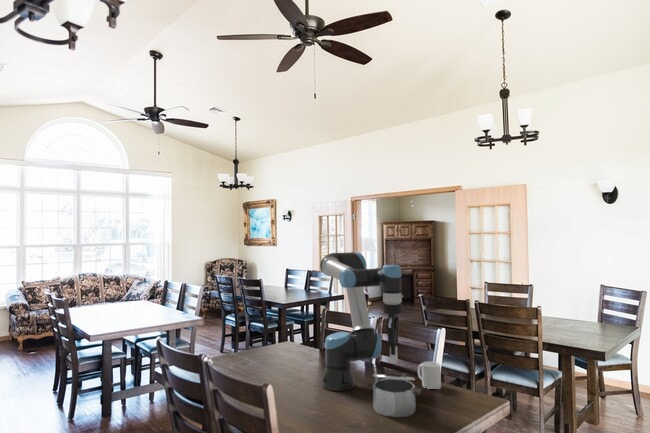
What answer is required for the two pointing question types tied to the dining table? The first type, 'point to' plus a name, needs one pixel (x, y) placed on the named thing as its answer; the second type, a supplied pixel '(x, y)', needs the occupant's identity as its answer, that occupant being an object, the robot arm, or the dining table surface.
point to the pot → (394, 397)
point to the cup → (430, 375)
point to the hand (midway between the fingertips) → (393, 362)
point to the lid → (394, 376)
